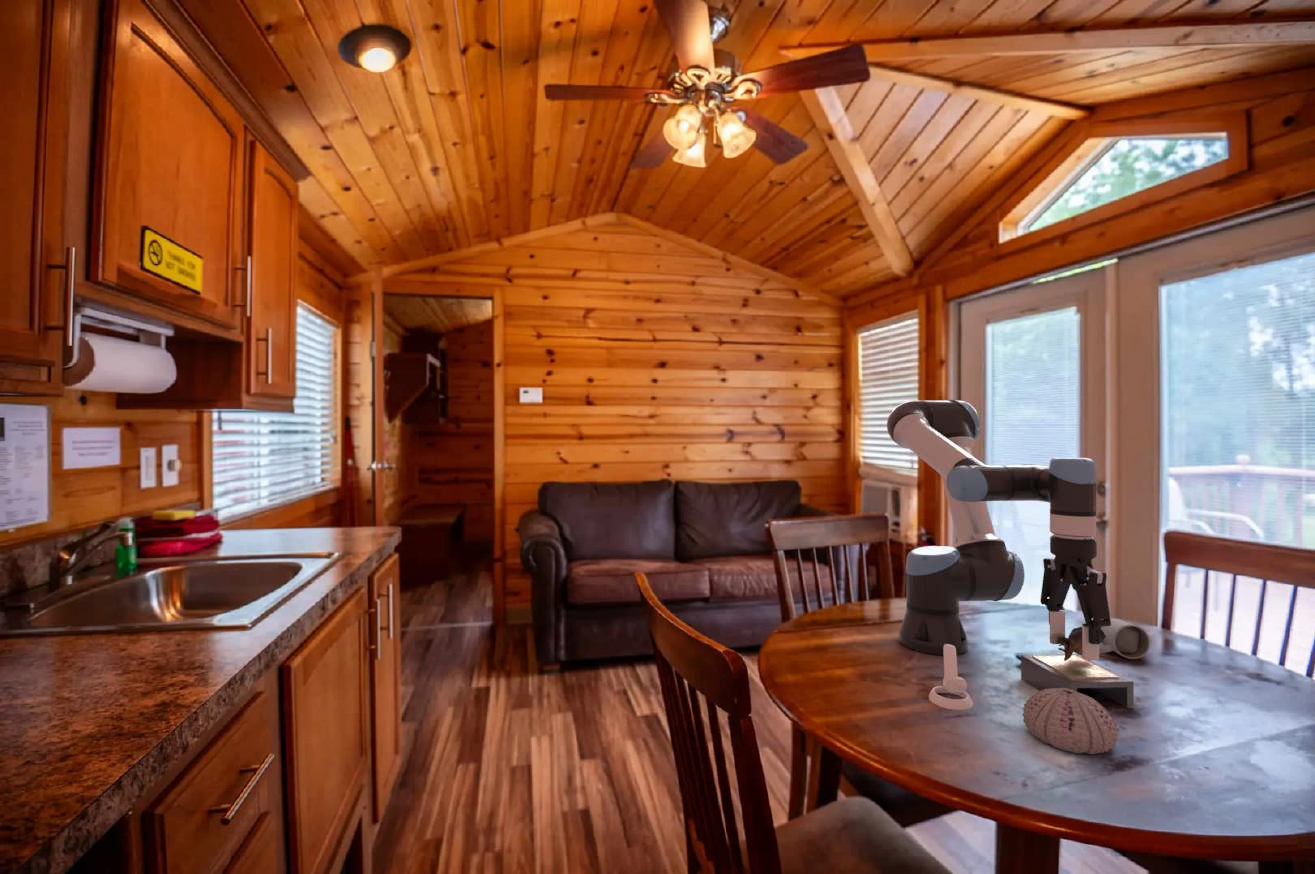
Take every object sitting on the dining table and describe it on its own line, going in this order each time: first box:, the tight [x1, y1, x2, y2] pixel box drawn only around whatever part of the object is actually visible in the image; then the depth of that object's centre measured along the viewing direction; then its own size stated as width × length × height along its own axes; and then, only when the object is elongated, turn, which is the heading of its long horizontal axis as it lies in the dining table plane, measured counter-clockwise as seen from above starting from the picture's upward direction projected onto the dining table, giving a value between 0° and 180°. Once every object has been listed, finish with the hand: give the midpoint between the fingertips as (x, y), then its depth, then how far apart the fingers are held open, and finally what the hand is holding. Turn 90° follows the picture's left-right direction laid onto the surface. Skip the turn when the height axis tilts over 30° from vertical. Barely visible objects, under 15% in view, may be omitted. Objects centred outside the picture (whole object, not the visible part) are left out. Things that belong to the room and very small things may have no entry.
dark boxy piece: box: [1020, 653, 1135, 710], centre depth 116 cm, size 12×14×5 cm
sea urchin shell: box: [1022, 688, 1120, 755], centre depth 99 cm, size 13×14×8 cm
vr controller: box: [928, 644, 974, 711], centre depth 115 cm, size 8×12×7 cm
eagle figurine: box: [1049, 626, 1106, 662], centre depth 117 cm, size 8×7×9 cm
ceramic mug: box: [1099, 618, 1151, 660], centre depth 138 cm, size 11×8×8 cm
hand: (1073, 651), depth 116 cm, fingers closed on eagle figurine, 8 cm apart
